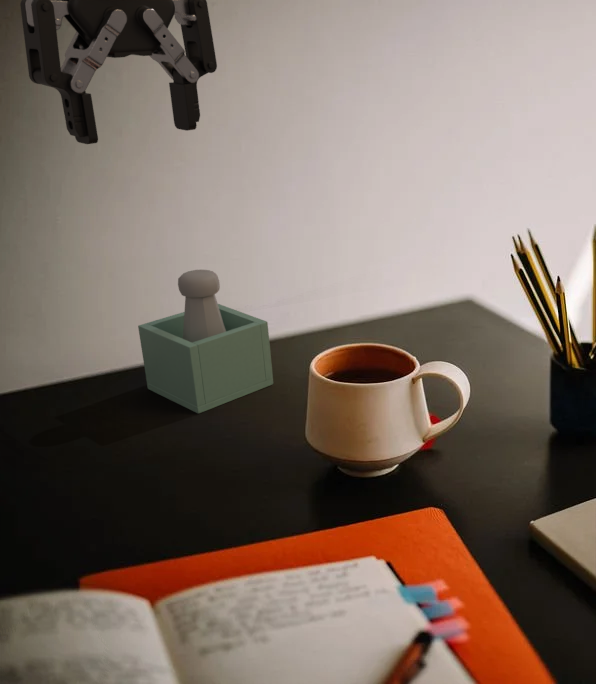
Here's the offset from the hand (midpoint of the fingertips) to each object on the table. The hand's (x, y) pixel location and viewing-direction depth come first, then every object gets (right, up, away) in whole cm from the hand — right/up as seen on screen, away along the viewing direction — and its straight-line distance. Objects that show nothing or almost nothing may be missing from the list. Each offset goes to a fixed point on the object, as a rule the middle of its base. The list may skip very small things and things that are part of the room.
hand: (138, 135), depth 72 cm
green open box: (-5, -22, +32) cm, 39 cm away
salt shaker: (-5, -21, +32) cm, 38 cm away
